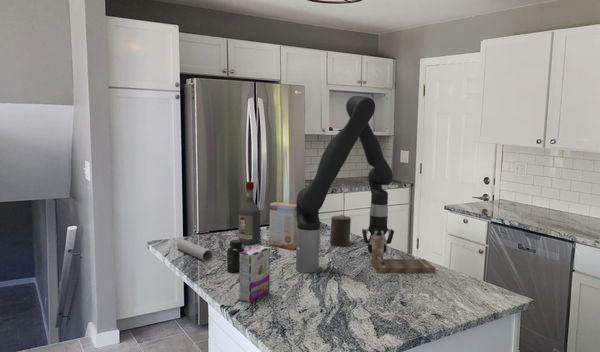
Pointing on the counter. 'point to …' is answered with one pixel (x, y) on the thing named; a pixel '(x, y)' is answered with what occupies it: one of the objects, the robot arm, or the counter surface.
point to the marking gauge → (377, 249)
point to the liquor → (249, 218)
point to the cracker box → (283, 225)
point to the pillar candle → (340, 231)
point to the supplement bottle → (234, 256)
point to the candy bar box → (254, 273)
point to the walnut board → (402, 266)
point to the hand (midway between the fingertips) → (376, 252)
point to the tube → (195, 250)
